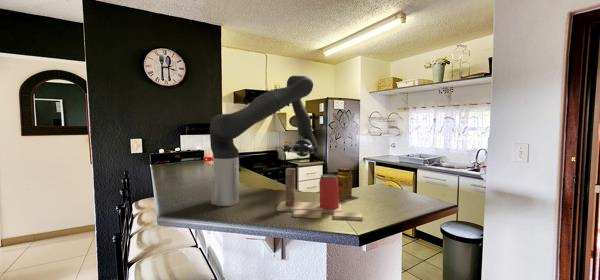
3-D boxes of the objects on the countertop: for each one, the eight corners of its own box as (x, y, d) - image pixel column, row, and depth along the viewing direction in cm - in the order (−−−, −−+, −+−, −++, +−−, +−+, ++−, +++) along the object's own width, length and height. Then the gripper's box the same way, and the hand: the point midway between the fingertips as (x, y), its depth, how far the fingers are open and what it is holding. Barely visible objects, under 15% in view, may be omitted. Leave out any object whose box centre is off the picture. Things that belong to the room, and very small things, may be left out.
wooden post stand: (277, 210, 90) (277, 170, 89) (281, 203, 98) (281, 166, 97) (341, 214, 87) (342, 172, 87) (340, 206, 95) (341, 168, 94)
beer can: (336, 213, 88) (336, 177, 87) (317, 211, 90) (317, 177, 89) (340, 207, 94) (339, 174, 93) (322, 205, 96) (321, 173, 95)
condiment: (332, 197, 107) (332, 168, 107) (346, 194, 112) (346, 166, 112) (345, 201, 101) (345, 170, 101) (359, 198, 107) (360, 168, 106)
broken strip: (292, 216, 84) (293, 213, 84) (294, 212, 88) (294, 209, 88) (362, 220, 82) (362, 217, 82) (361, 216, 86) (361, 213, 86)
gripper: (288, 138, 120) (281, 140, 104) (319, 139, 118) (317, 141, 102) (287, 155, 120) (281, 158, 104) (318, 156, 119) (316, 160, 103)
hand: (299, 150), depth 103 cm, fingers open, 8 cm apart
